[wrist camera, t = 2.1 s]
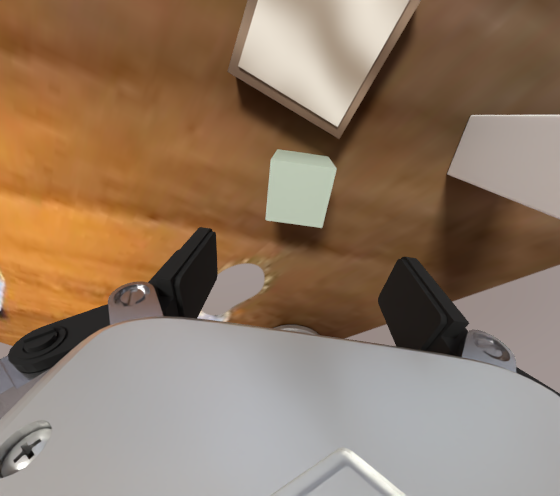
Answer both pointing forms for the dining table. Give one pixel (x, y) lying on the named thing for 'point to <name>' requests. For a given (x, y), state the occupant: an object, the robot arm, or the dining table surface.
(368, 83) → the plinth
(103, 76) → the dining table surface
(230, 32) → the dining table surface
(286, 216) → the block
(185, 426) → the robot arm
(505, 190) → the milk
